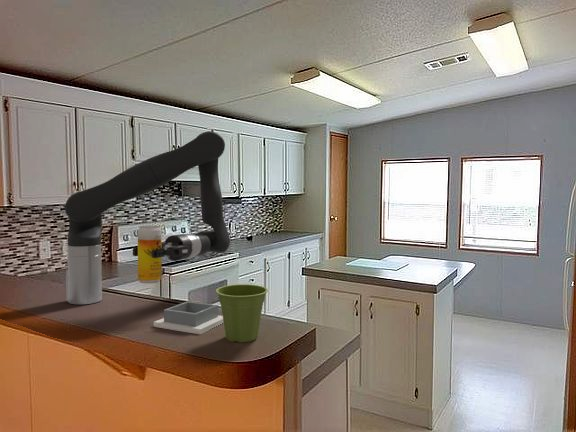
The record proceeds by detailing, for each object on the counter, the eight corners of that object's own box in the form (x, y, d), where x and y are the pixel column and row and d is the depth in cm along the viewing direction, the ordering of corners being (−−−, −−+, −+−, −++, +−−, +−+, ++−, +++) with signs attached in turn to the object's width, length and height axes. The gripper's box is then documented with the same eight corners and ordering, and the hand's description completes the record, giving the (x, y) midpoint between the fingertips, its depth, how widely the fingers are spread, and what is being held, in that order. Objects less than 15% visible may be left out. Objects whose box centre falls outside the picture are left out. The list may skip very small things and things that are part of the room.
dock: (153, 326, 109) (153, 309, 109) (184, 314, 120) (183, 299, 120) (200, 334, 103) (200, 316, 103) (227, 321, 114) (227, 305, 114)
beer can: (154, 284, 115) (154, 227, 115) (133, 283, 117) (133, 226, 116) (165, 280, 121) (165, 225, 121) (145, 278, 123) (145, 225, 122)
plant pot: (204, 340, 99) (204, 290, 99) (239, 327, 109) (239, 282, 109) (244, 350, 93) (245, 298, 92) (277, 336, 102) (278, 288, 102)
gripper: (163, 232, 134) (122, 237, 119) (203, 235, 128) (164, 240, 113) (163, 257, 135) (122, 264, 119) (202, 261, 129) (164, 269, 114)
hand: (143, 253), depth 116 cm, fingers closed on beer can, 6 cm apart
